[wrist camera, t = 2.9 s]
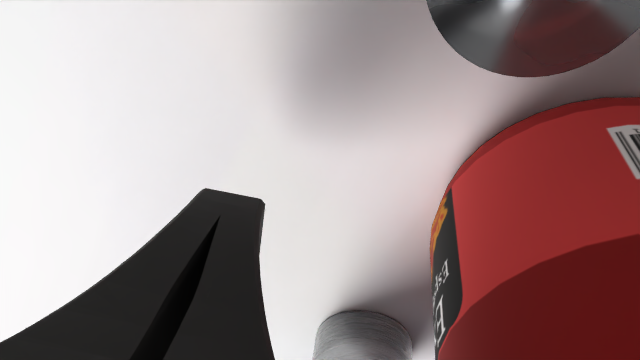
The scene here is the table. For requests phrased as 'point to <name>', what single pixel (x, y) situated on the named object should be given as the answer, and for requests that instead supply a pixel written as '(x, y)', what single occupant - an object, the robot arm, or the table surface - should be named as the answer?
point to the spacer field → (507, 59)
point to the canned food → (543, 240)
